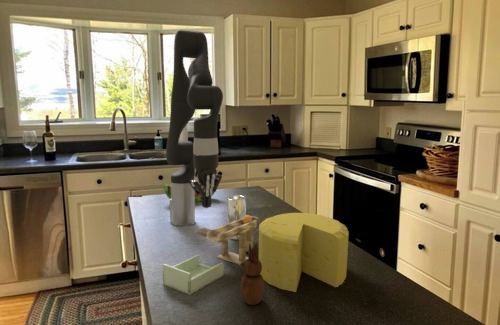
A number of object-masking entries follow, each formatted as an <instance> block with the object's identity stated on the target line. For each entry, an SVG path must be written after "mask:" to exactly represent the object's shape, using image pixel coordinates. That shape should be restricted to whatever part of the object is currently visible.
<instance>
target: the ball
mask: <svg viewBox="0 0 500 325" xmlns="http://www.w3.org/2000/svg"><path fill="white" fill-rule="evenodd" d="M245 215H246V216H244V217H243V223H244V224H246V223H249V222H251V221H252V217H251V216H252V215H249V214H245Z"/></svg>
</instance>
